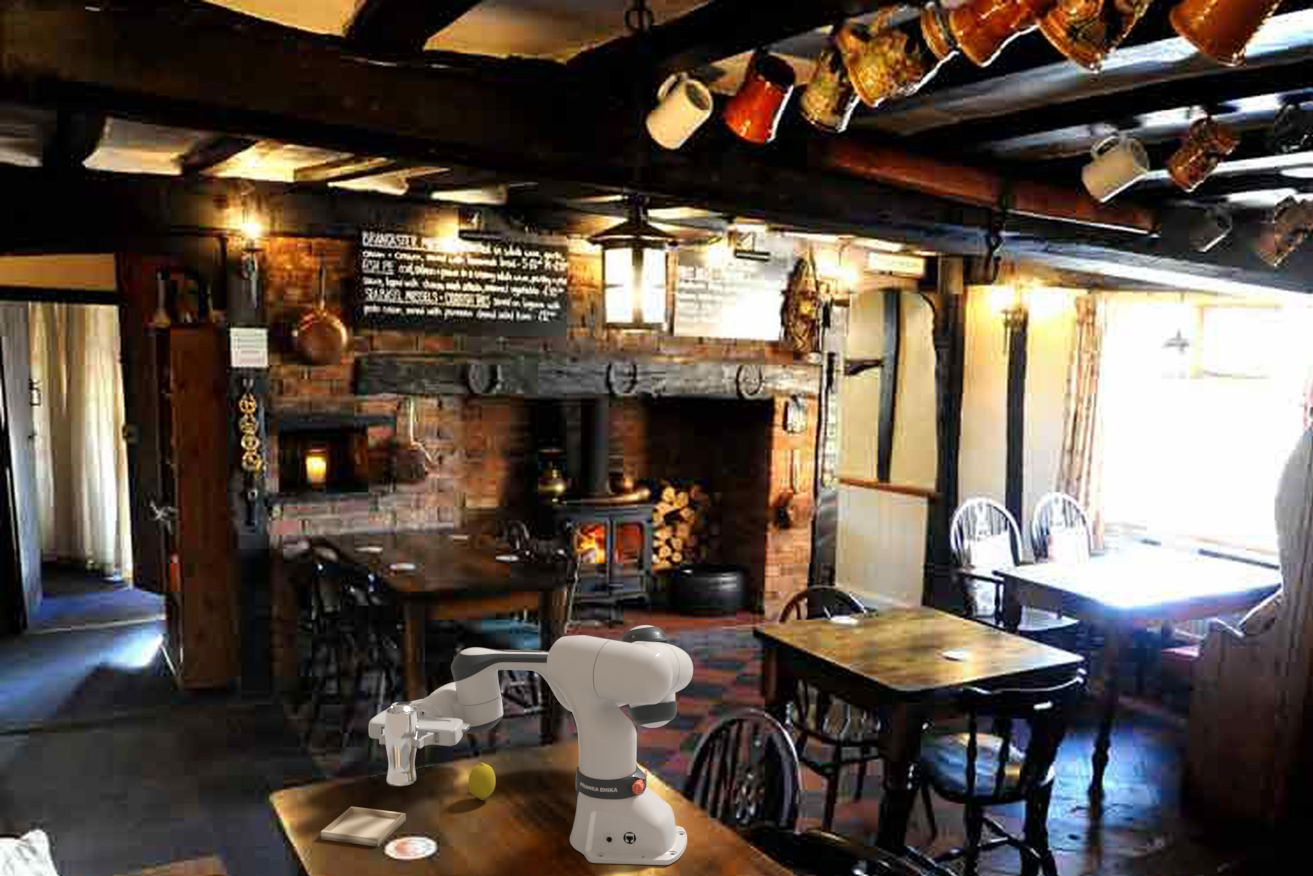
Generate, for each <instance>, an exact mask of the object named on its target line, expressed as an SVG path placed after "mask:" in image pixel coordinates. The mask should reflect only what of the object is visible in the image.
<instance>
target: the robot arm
mask: <svg viewBox="0 0 1313 876" xmlns="http://www.w3.org/2000/svg"><path fill="white" fill-rule="evenodd" d="M450 670H451V674H452V677H453V681H452V682H450V683H447V684H444V685H442V686H440V687H438V688H437V689H435V690H434V691H433V692H431V693H430V694H429V695H428V696H426V697H424V698H420V699H416V700H409V701H398V702H393V703H392V704H391V705H390V707H392V706H396V705H413V706H416V707H417V708H418V716H419V737H418V738H417V739H416V740H415V741H414V748H417V749H422V748H424V747H426V746H430V745H435V746H436V745H437V746H445V747H453V746H456V745H457V744H458V743H459V742H460V741H461V740H462V738H463V735H464V734H469V735H471V734H473V735H475V734H480V733H485V732H487V731H489V730H491V729H493V728H494V727H495V726H496V725H497V724H498V723H499V722H500V721H501V720H502V719H503V717H504V707H503V700H502V693H501V688H500V683H499V682H500V681H499V673H498V671H532V672H535V673H537V674H539V675H540V676H542V678H543V679H544V680H545V682H546V683H547V684H548V687H550V689H551V692H552V693H553V694H554V696H555V698H556V699H557V701H558V702H559V703H560V705H561V706H562V707H564V709H566V710H567V711H569V712H572V715H573V718H574V720H575V725H576V729H577V741H578V742H577V743H578V746H577V747H578V766H577V767H576V775H575V791H576V795H575V796H576V797H577V800H576V801H577V802H576V810H575V816H574V821H573V826H572V829H571V832H570V835H569V843H570V845H571V846H572V847H573V849H575V850H576V851H578V852H579V853H581V854H582V855H584V857H585V858H586V860H587V861H588V862H589V863H593V864H613V865H614V864H617V865H647V866H648V865H650V866H651V865H652V866H669V865H671V864H673V863H675V862H676V861H678V860H679V859H680V858H681V857H682V855H683V854H684V853H685V851H686V849H687V846H688V834H687V832H686V830H685V828H684V827H682V826H679V825H676V819H675V814H674V810H673V808H672V807H671V805H670V803H668V802H667V801H665V800H664V798H662V797H660V796H659V795H658V794H657V793H655V792H654V791H652V789H650V788H649V787H648V786H647V783H648V781H647V777H648V769H647V768H645V770H644V771H642V770H641V769H640V768H639V766H638V765H637V754H638V753H637V752H638V751H637V749H638V748H637V746H638V745H637V742H638V741H637V738H638V735H637V729H636V726H635V724H636V725H638V726H639V727H640V726H641V727H645V728H647V729H649V728H650V729H651V728H652V729H654V728H660V727H663V726H665V725H666V724H668V723H669V722H670V721H673V720H674V719H675V718H676V716H677V712H678V711H677V710H678V709H677V708H678V702H677V700H676V693H677V692H679V691H682V690H683V689H685V688H686V687H687V686H688V685H689V683H690V682H691V680H692V678H693V676H694V675H693V674H694V664H693V661H692V659H691V657H690V655H689V653H687V652H686V651H685V650H683V649H682V648H681V647H678V646H677V645H674V644H670V639H669V638H668V637H667V635H666V633H665V631H664V630H663V629H662V628H660V627H659V626H654V625H649V624H645V625H644V624H643V625H642V624H641V625H637V626H635V627H632V628H631V629H630V630H628V631H626V632H625V633H624V634H623V636H622V637H621V640H615V639H611V638H610V639H608V638H603V637H598V636H591V635H584V634H582V635H580V634H579V635H565V636H561V637H560V638H558V639H556V641H555V642H554V643H553V644H552V646H551V647H550V649H549V650H536V649H535V650H533V649H497V648H496V649H495V648H488V647H475V646H474V647H468V648H466V649H463V650H460V651H459V652H458V653H457V654H456V656H455V657H454V658H453V661H451V664H450ZM625 705H626V706H627V705H628V708H629V709H625V710H624V712H623V711H622V710H621V708H620V707H623V706H625ZM626 714H628V715H629V716H627V715H626ZM385 716H386V709H385V710H383V711H381V712H379V713H378V714H376V715H375V716H374V717H372V718H371V719H370V720H369V722H368V736H369V738H370V739H376V740H378V741H379V742H378V744H379V745H381V746H382V745H384V746H386V744H385ZM629 717H630V718H629ZM634 723H635V724H634Z"/></svg>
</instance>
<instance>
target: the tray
mask: <svg viewBox="0 0 1313 876" xmlns="http://www.w3.org/2000/svg"><path fill="white" fill-rule="evenodd" d="M406 815H407V813H405V812H397V811H389V810H383V809H375V808H367V807H366V808H365V807H360V806H359V807H358V806H352V805H351V806H350V807H348V809H346V810H345V811H343V813H342V814H340V815H339V816H338V817H336V818H335V819H334V820H333V821H332V822H331V823H329V824H328V825H326V826H325V827H324V828H323V829H322V830H321V831H320V839H321V840H325V841H326V840H327V841H333V842H341V843H348V844H354V845H355V844H357V845H363V846H370V847H377V848H378V847H379V846H380V845H381V844H382V843H384V841H386V840H387V839H388V838H389V837H390V836H391V835H392V834H393V833H395V831H396V830H397V829H399V828H400V826H402V825H403V824H404V823H405V822H406V820H407V816H406Z"/></svg>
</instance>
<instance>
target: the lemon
mask: <svg viewBox="0 0 1313 876" xmlns="http://www.w3.org/2000/svg"><path fill="white" fill-rule="evenodd" d="M468 776H469V777H468V788H469V792H470V793H471V795H472V796H473V797H475V798H477V799H479V800H481V801H484V800H485V799H486V798H488V797H490V796H491V795H492V794H493V792H494V791H495V788H496V784H497V783H496V780H497V779H496V774H495V771H494V769H493V767H492V766H490V765H489V764H488V763H485V762H480V763H479V764H477V765H475V766H474V767H473V768H472V769H471V771H470V774H469V775H468Z"/></svg>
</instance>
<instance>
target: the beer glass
mask: <svg viewBox="0 0 1313 876" xmlns="http://www.w3.org/2000/svg"><path fill="white" fill-rule="evenodd" d="M385 710H386V716H385V744H386V745H385V748H386V749H385V750H386V754H387V761H388V767H387V768H388V769H387V774H386V783H387V785H389V786H392V787H393V786H394V787H404V786H409V785H412V784H414V783H415V782H416V781H417V772H416V765H415V764H416V763H415V761H416V756H417V755H416V753H417V749H418V748H414V741H415V740H416V739H417V738H418V737H419V716H418V708H417V707H416V706H413V705H396V706H392V707H391V706H390V707H388V708H386V709H385Z"/></svg>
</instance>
